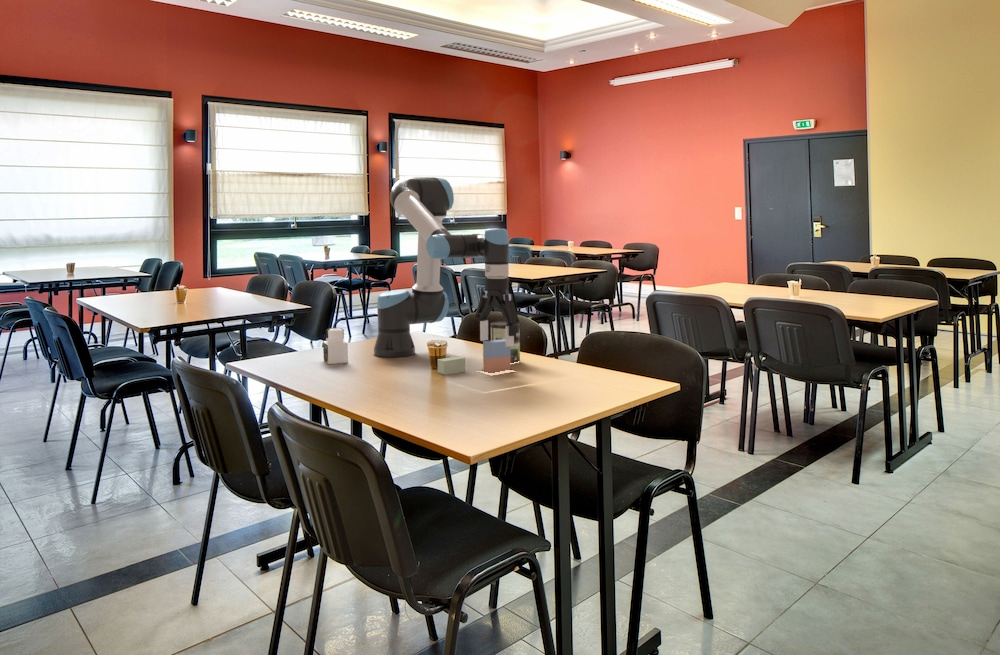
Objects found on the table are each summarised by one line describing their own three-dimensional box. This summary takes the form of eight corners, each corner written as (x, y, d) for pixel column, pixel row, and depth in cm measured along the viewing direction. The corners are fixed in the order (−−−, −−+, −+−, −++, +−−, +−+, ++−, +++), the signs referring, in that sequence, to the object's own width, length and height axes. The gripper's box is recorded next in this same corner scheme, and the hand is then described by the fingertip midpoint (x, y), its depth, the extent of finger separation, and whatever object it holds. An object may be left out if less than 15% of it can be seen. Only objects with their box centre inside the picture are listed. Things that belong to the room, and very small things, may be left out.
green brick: (444, 376, 234) (444, 361, 233) (437, 374, 237) (437, 359, 236) (465, 373, 239) (465, 358, 238) (458, 371, 242) (458, 356, 241)
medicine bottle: (323, 361, 259) (322, 327, 258) (343, 359, 262) (342, 326, 261) (327, 364, 253) (326, 330, 251) (348, 362, 256) (347, 328, 254)
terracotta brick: (490, 374, 234) (490, 358, 234) (483, 372, 238) (483, 356, 237) (510, 370, 239) (510, 355, 238) (502, 368, 242) (502, 354, 242)
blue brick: (490, 358, 234) (490, 343, 233) (483, 356, 237) (483, 341, 236) (510, 355, 238) (510, 340, 238) (503, 354, 242) (503, 339, 241)
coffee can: (520, 360, 259) (520, 321, 257) (520, 366, 249) (520, 325, 247) (490, 360, 260) (490, 321, 257) (489, 366, 249) (489, 325, 247)
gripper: (464, 275, 241) (465, 339, 245) (511, 280, 222) (511, 349, 225) (483, 274, 246) (483, 336, 249) (530, 279, 226) (530, 347, 230)
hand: (496, 343), depth 237 cm, fingers open, 13 cm apart
